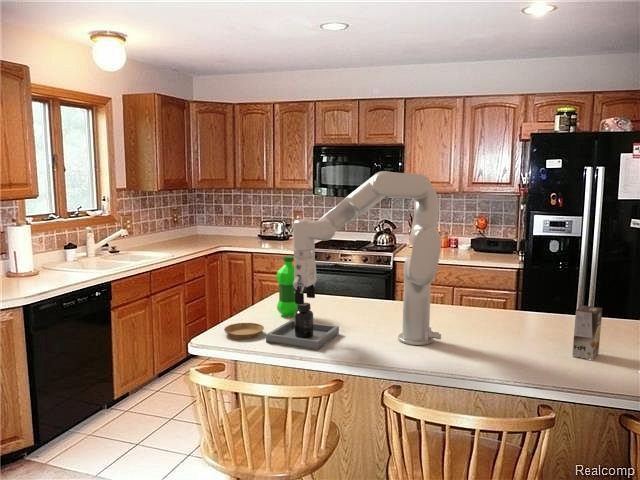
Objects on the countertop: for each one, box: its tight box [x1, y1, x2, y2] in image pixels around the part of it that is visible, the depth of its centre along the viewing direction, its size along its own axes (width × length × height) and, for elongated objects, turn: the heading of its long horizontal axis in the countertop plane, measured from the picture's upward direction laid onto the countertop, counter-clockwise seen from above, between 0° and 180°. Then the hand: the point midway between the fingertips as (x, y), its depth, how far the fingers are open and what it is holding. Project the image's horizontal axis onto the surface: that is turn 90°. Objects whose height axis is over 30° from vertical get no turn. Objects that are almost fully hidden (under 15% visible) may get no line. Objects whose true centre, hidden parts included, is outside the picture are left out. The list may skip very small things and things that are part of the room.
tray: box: [265, 319, 340, 351], centre depth 192 cm, size 20×20×3 cm
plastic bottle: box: [275, 255, 298, 318], centre depth 221 cm, size 10×10×25 cm
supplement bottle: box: [294, 302, 314, 338], centre depth 191 cm, size 7×7×12 cm
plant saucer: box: [223, 322, 265, 340], centre depth 196 cm, size 15×15×3 cm
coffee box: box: [571, 305, 603, 361], centre depth 176 cm, size 9×6×16 cm
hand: (305, 300), depth 190 cm, fingers open, 9 cm apart
